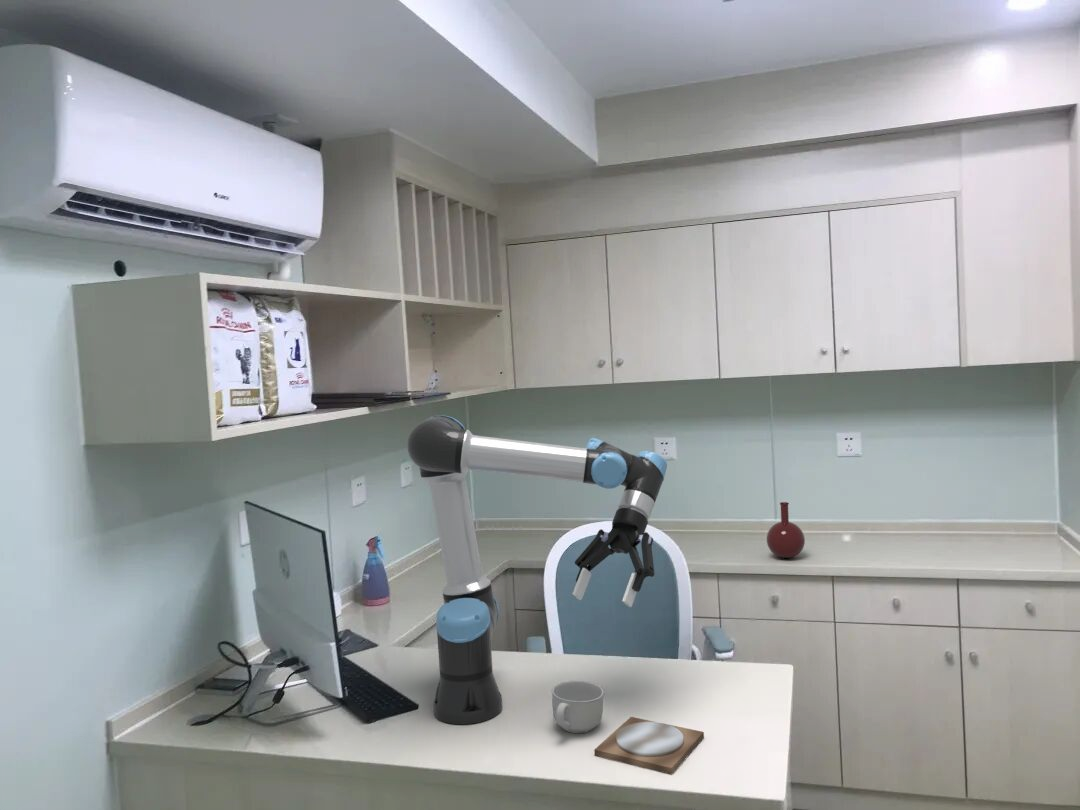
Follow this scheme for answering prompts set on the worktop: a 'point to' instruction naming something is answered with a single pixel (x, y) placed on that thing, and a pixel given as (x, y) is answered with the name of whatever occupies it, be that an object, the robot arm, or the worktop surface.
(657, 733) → the walnut board
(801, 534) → the round-bottom flask
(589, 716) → the teacup
